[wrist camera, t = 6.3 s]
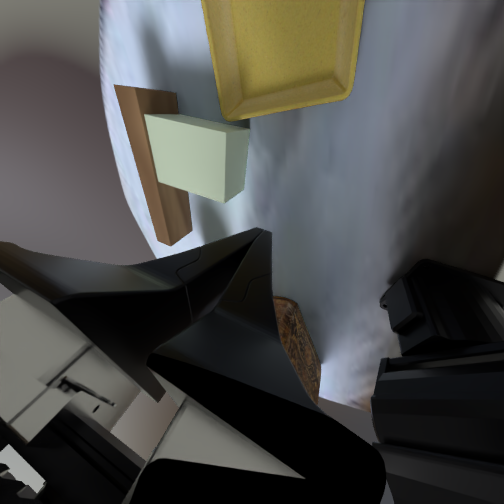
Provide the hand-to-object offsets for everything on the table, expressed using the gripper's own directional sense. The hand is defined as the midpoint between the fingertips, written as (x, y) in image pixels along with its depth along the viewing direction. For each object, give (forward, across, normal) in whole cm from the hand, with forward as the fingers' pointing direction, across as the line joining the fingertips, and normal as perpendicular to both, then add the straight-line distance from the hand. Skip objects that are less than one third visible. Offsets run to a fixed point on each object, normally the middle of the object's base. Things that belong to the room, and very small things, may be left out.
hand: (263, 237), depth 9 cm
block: (+9, +9, -1) cm, 12 cm away
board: (+9, +13, +2) cm, 16 cm away
